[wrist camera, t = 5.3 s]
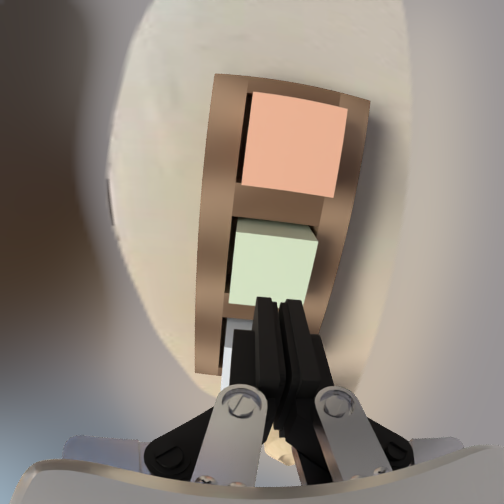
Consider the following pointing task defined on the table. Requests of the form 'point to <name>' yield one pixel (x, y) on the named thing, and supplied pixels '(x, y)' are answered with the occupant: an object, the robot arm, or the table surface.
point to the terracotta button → (293, 144)
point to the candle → (279, 448)
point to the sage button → (271, 261)
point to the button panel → (264, 207)
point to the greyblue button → (231, 325)
